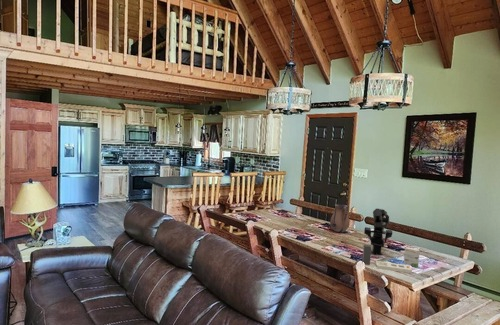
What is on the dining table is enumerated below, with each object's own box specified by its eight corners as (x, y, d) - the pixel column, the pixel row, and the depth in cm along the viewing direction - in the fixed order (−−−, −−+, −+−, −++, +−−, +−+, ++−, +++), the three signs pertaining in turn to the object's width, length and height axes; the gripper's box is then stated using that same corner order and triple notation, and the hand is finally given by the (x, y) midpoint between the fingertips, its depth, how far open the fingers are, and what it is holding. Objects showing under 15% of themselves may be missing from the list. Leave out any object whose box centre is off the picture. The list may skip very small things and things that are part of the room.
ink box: (418, 266, 233) (420, 249, 232) (416, 268, 229) (417, 250, 228) (405, 262, 238) (407, 246, 238) (403, 264, 235) (404, 247, 234)
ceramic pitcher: (341, 228, 330) (343, 203, 328) (354, 234, 310) (356, 207, 308) (326, 229, 324) (327, 203, 323) (338, 235, 304) (340, 207, 303)
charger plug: (362, 265, 228) (364, 246, 227) (362, 263, 232) (363, 244, 231) (369, 266, 227) (371, 247, 226) (369, 264, 231) (370, 245, 230)
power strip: (376, 269, 221) (377, 264, 220) (375, 265, 229) (375, 259, 229) (411, 274, 216) (411, 269, 215) (408, 269, 224) (409, 264, 224)
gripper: (365, 216, 245) (365, 235, 235) (393, 219, 239) (393, 238, 230) (364, 224, 253) (363, 242, 243) (391, 227, 247) (391, 246, 238)
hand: (378, 242), depth 238 cm, fingers open, 9 cm apart
